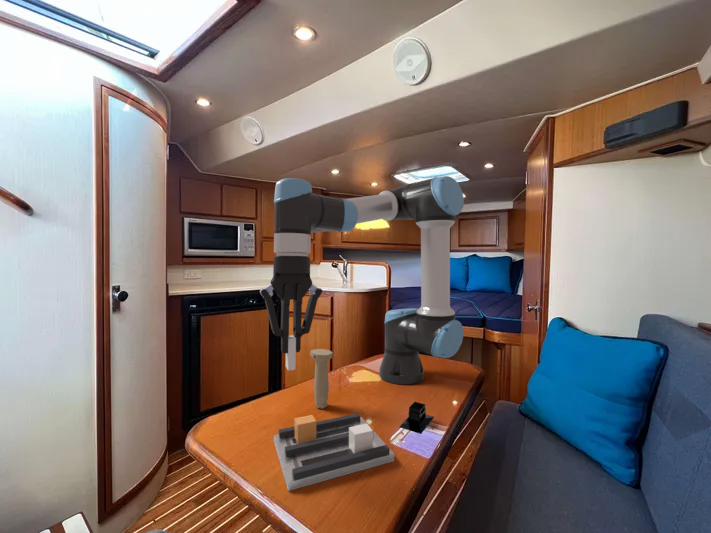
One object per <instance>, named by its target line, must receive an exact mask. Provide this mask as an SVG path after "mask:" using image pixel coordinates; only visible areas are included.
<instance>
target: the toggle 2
mask: <svg viewBox="0 0 711 533" xmlns="http://www.w3.org/2000/svg"><path fill="white" fill-rule="evenodd" d="M368 425H369V424H368V423H367V422H366V424H362V425H357V426H353V427H349V447H350V449H351V450H352V452H353V453H356V452H360V451H364V450H368V449H372V448H373V431H374V429H373V428H372V427H371V426H370V425H369V426H370V427H371V428H372V429H373V430H372V429H371V428H370V427H369V426H368Z"/></svg>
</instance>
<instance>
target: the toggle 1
mask: <svg viewBox="0 0 711 533" xmlns="http://www.w3.org/2000/svg"><path fill="white" fill-rule="evenodd" d="M316 422H317V420H316V418H315V417H314V414H308V415H305V416H299V417H294V426H295V439H296V441H297V443H298V444H299V443H304V442H308V441H312V440H316Z"/></svg>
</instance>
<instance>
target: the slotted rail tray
mask: <svg viewBox="0 0 711 533" xmlns="http://www.w3.org/2000/svg"><path fill="white" fill-rule="evenodd" d="M360 417H361V414H359V413H352V414H349V415H344V416H338V417H333V418H329V419H328V418H327V419H324V420H323V419H322V420H319V421H316V430H320V429H325V428H330V427H334V426H339V425H344V424H348V423H353V422H356V421H357V422H358V421H360ZM370 428H371V429H373V428H372V427H371V426H370ZM278 434H279V437H280V438H283V437H286V436H293V435H295V425H293V426H289V427H284V428H279V429H278ZM346 442H349V432H348V433H344V434H339V435H335V436H331V437H326V438H322V439H317V440H313V441H309V442H304V443H300V444H295V445H291V446H287V447H285V455H286V457H288V456H291V455H296V454H300V453H304V452H309V451H313V450H317V449H321V448H325V447H329V446H334V445H338V444H342V443H346ZM390 450H391V448H390V447H389V446H388V445H387V444H386V445H384V446H380V447H376V448H372V449H368V450H364V451H360V452H356V453H352V454H349V455H345V456H341V457H337V458H333V459H329V460H325V461H321V462H317V463H313V464H310V465H306V466H302V467H298V468H294V469H292V476H293V479H294V480H298V479H302V478H305V477H309V476H313V475H316V474H320V473H324V472H327V471H331V470H335V469H338V468H342V467H346V466H350V465H353V464H357V463H361V462H364V461H368V460H372V459H375V458H379V457H383V456H386V455H389V454H390Z"/></svg>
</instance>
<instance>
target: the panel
mask: <svg viewBox="0 0 711 533" xmlns="http://www.w3.org/2000/svg"><path fill="white" fill-rule="evenodd" d="M366 423H367V422H366V420H365V419H364V418H363V417H362V416H360V421H358V422H357V421H356V422H353V423H348V424H344V425H339V426H334V427H330V428H325V429H320V430H316V440H317V439H322V438H326V437H331V436H335V435H339V434H344V433H348V432H349V427H353V426H357V425H362V424H366ZM368 426H369V427H371V426H370V425H369V424H368ZM372 430H373V448H376V447H380V446H384V445H387V444H386V443H385V442H384V440H383V439H382V438H381V437H380V436H379V435H378V434H377V433H376V432H375V430H374V429H373V428H372ZM312 441H313V440H312ZM308 442H309V441H308ZM273 444H274V446H275V449H276V453H277V456H278V457H277V458H278V461H279V464H280V468H281V471H282V474H283V477H284V478H283V479H284V481H285V484H286V488H287V490H288V492H291V491H293V490H297V489H300V488H304V487H308V486H312V485H314V484H319V483H322V482H325V481H329V480H332V479H335V478H336V479H337V478H339V477H343V476H346V475H349V474H353V473H356V472H357V473H358V472H360V471H364V470H367V469H372V468H374V467H378V466H381V465H384V464H385V465H386V464H389V463H392V462H395V453H394V452H393V450H391V449H390V454H389V455H386V456H383V457H379V458H375V459H372V460H368V461H364V462H361V463H357V464H353V465H350V466H346V467H342V468H338V469H335V470H331V471H327V472H324V473H320V474H316V475H313V476H309V477H305V478H302V479H298V480H294V479H293V476H292V469H294V468H298V467H302V466H306V465H310V464H313V463H317V462H321V461H325V460H329V459H333V458H337V457H341V456H345V455H349V454H352V453H353V452H352V450H351V449H350V447H349V442H346V443H342V444H338V445H334V446H329V447H325V448H321V449H317V450H313V451H309V452H304V453H300V454H296V455H291V456H288V457H286V455H285V447H287V446H291V445H295V444H298V443H297V441H296V439H295V435H293V436H286V437H283V438H280V437H279V433H278V434H274V435H273ZM299 444H300V443H299Z"/></svg>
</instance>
